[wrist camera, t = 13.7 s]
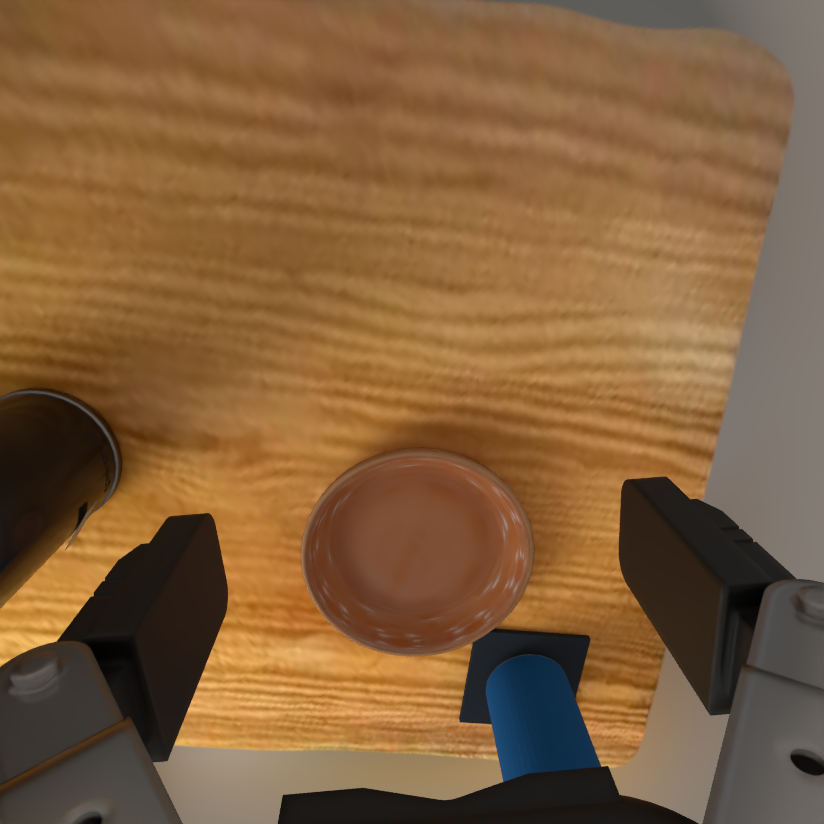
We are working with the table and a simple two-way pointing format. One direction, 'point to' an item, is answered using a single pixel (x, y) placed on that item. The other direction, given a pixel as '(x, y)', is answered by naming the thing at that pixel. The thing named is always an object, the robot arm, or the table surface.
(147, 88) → the table surface
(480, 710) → the coaster
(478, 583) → the saucer
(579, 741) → the beverage can
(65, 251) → the table surface
